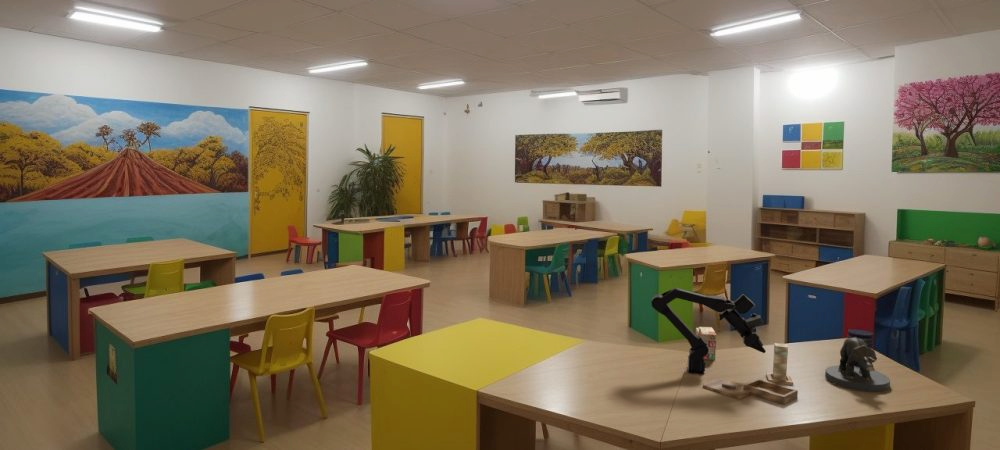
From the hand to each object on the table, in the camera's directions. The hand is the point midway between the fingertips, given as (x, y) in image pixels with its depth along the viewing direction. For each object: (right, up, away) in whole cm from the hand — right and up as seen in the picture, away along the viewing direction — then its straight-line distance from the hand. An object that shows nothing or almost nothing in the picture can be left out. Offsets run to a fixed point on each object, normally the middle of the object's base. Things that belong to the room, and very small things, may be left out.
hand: (763, 349), depth 249 cm
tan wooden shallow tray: (-5, -14, -17) cm, 23 cm away
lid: (-19, -14, -12) cm, 27 cm away
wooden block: (+6, -13, -1) cm, 14 cm away
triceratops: (+38, -13, -1) cm, 40 cm away
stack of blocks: (-12, -9, +35) cm, 39 cm away
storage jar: (+52, -11, +20) cm, 57 cm away
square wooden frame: (+6, -13, -1) cm, 14 cm away
